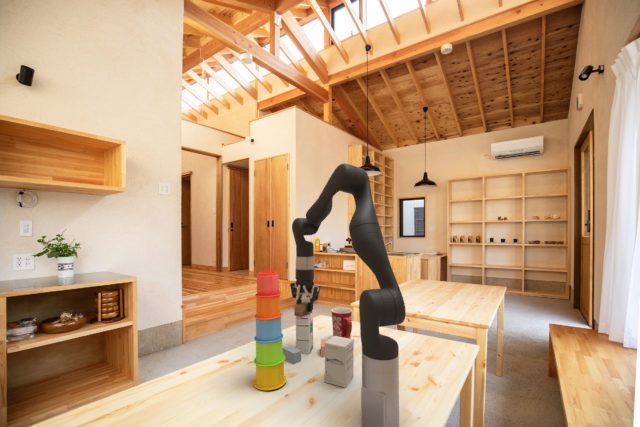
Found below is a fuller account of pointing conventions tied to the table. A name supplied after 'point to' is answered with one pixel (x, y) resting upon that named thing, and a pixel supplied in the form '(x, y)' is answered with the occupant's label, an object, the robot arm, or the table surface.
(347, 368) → the supplement box
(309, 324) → the syrup box
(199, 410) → the table surface
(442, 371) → the table surface
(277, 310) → the stacking cups
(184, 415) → the table surface
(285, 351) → the slate-blue brick
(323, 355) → the terracotta brick
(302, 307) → the walnut brick
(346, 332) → the mug
